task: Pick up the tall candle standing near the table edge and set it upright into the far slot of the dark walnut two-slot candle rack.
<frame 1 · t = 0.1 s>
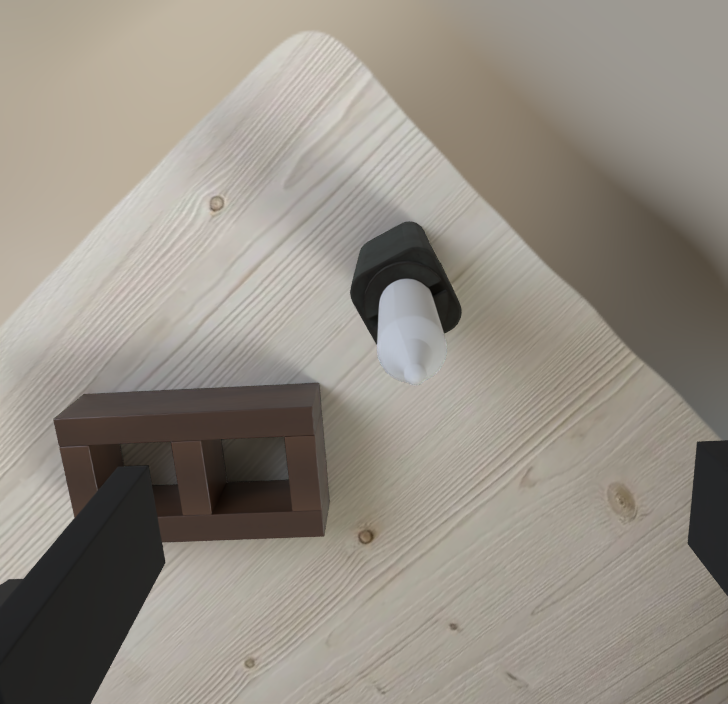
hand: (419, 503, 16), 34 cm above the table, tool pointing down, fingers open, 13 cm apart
rack: (209, 449, 53), on the table
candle: (400, 263, 48), on the table
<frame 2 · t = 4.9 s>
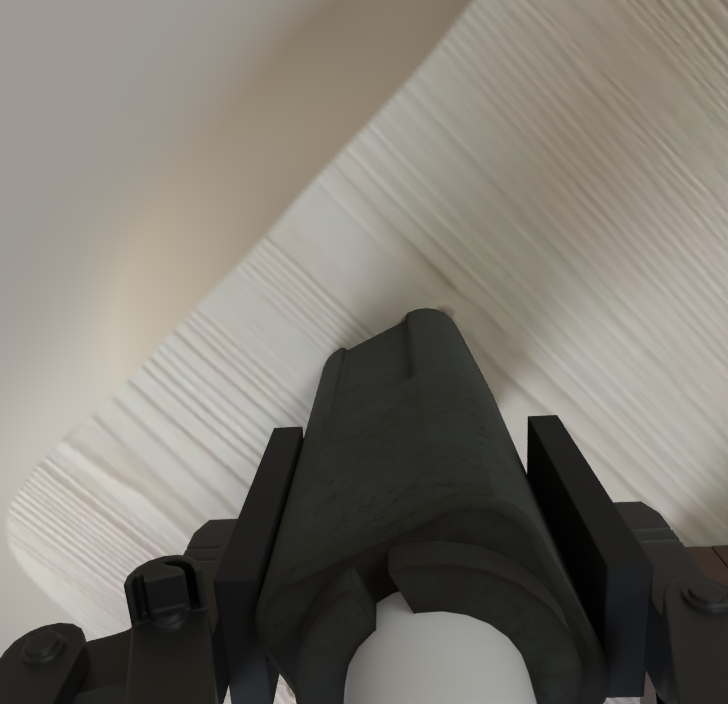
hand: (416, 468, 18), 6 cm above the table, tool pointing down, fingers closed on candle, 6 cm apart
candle: (408, 389, 24), on the table, touching gripper
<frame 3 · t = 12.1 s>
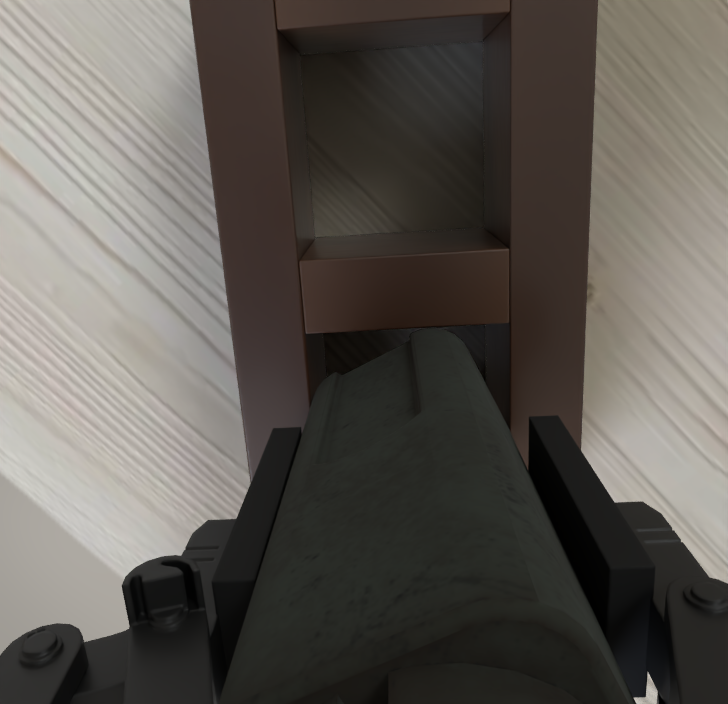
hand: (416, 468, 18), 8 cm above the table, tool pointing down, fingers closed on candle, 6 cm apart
rack: (400, 263, 24), on the table
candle: (411, 420, 20), point 5 cm above the table, touching gripper, rack
when the fingers open (7 cm above the table, at t = 12.5 s): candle drops 5 cm, resting in rack.
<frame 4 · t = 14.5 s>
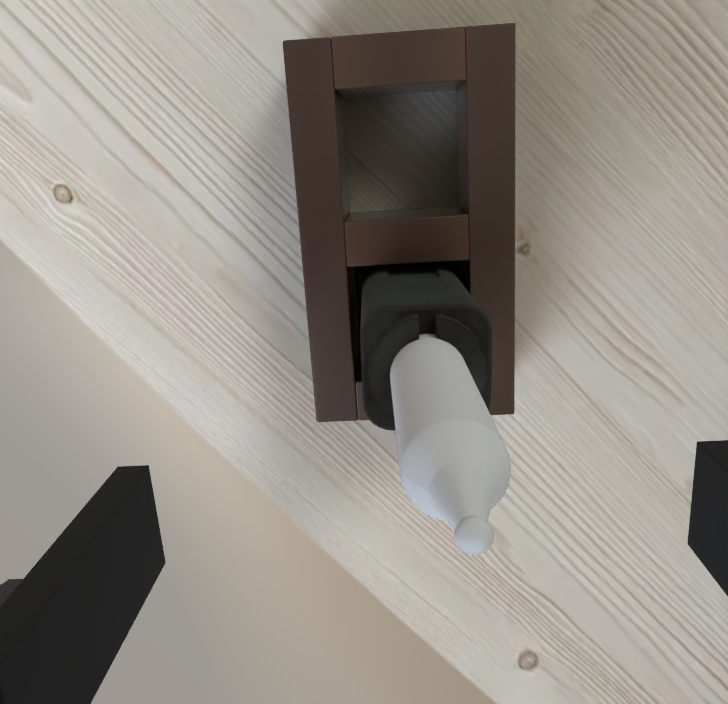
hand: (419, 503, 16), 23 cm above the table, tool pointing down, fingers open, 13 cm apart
rack: (404, 229, 37), on the table
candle: (407, 301, 38), resting in rack
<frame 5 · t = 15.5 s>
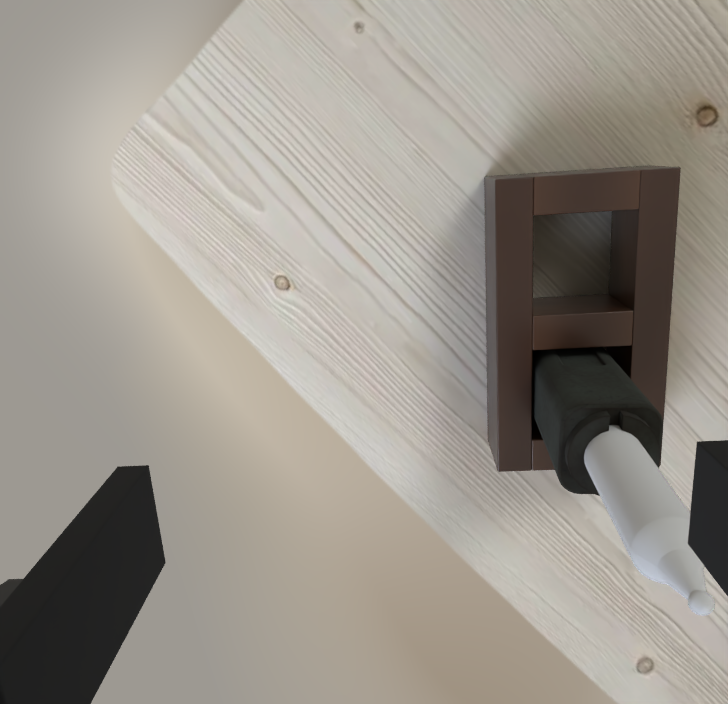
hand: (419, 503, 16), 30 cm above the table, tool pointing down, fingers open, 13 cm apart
rack: (562, 312, 45), on the table
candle: (561, 369, 46), resting in rack
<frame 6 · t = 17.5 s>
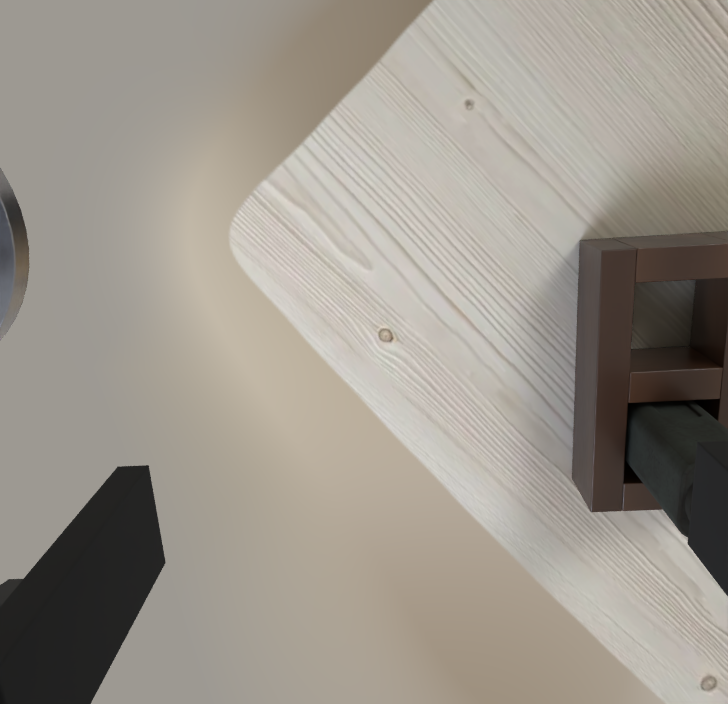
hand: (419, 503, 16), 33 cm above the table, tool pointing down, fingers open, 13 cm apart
rack: (646, 362, 49), on the table
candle: (642, 413, 50), resting in rack
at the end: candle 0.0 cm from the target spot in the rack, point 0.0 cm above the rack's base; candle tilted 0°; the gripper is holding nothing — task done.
